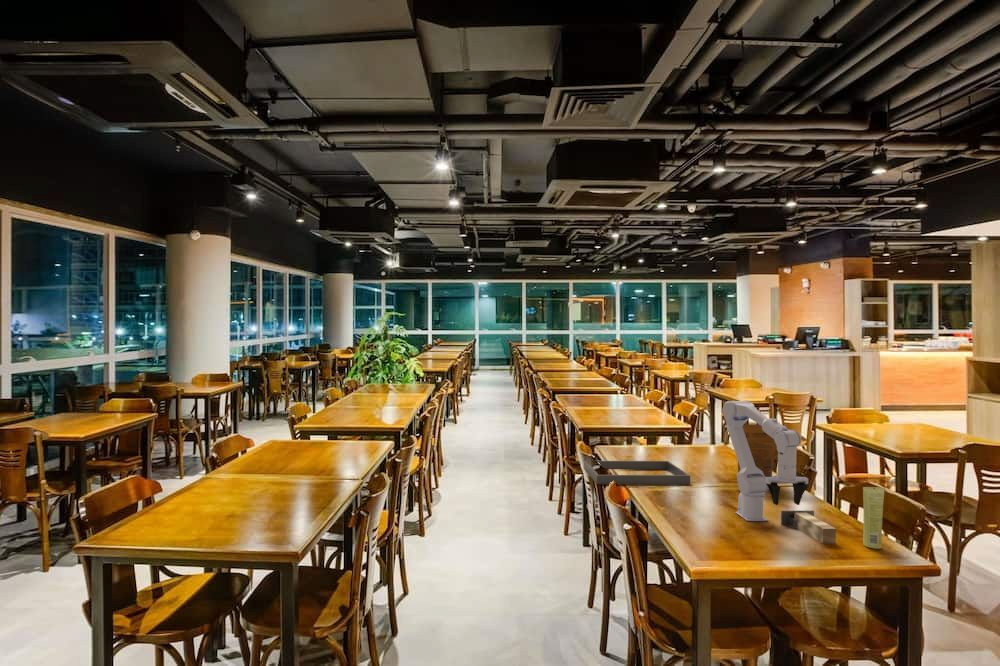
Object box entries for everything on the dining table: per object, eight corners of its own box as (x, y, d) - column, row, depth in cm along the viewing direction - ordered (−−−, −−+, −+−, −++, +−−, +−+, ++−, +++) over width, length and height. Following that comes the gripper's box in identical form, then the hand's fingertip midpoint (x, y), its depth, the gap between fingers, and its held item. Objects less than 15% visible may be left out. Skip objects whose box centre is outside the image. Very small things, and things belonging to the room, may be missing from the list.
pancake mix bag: (780, 486, 255) (782, 424, 255) (738, 485, 255) (739, 423, 255) (774, 482, 261) (775, 422, 261) (732, 481, 262) (733, 421, 262)
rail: (794, 526, 202) (794, 512, 202) (806, 526, 203) (806, 512, 203) (822, 543, 186) (823, 528, 186) (835, 543, 187) (836, 528, 187)
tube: (865, 541, 188) (866, 483, 188) (883, 546, 185) (884, 486, 185) (861, 546, 184) (862, 487, 184) (879, 550, 181) (881, 490, 181)
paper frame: (583, 468, 281) (583, 460, 281) (668, 468, 283) (668, 460, 283) (596, 484, 253) (596, 475, 253) (690, 484, 255) (690, 475, 255)
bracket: (780, 524, 204) (781, 510, 204) (812, 524, 205) (813, 510, 205) (788, 528, 200) (788, 514, 200) (820, 528, 200) (821, 514, 200)
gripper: (773, 467, 192) (772, 507, 192) (814, 468, 192) (813, 507, 193) (762, 462, 199) (761, 501, 199) (801, 463, 199) (800, 501, 200)
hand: (786, 504), depth 196 cm, fingers open, 7 cm apart
